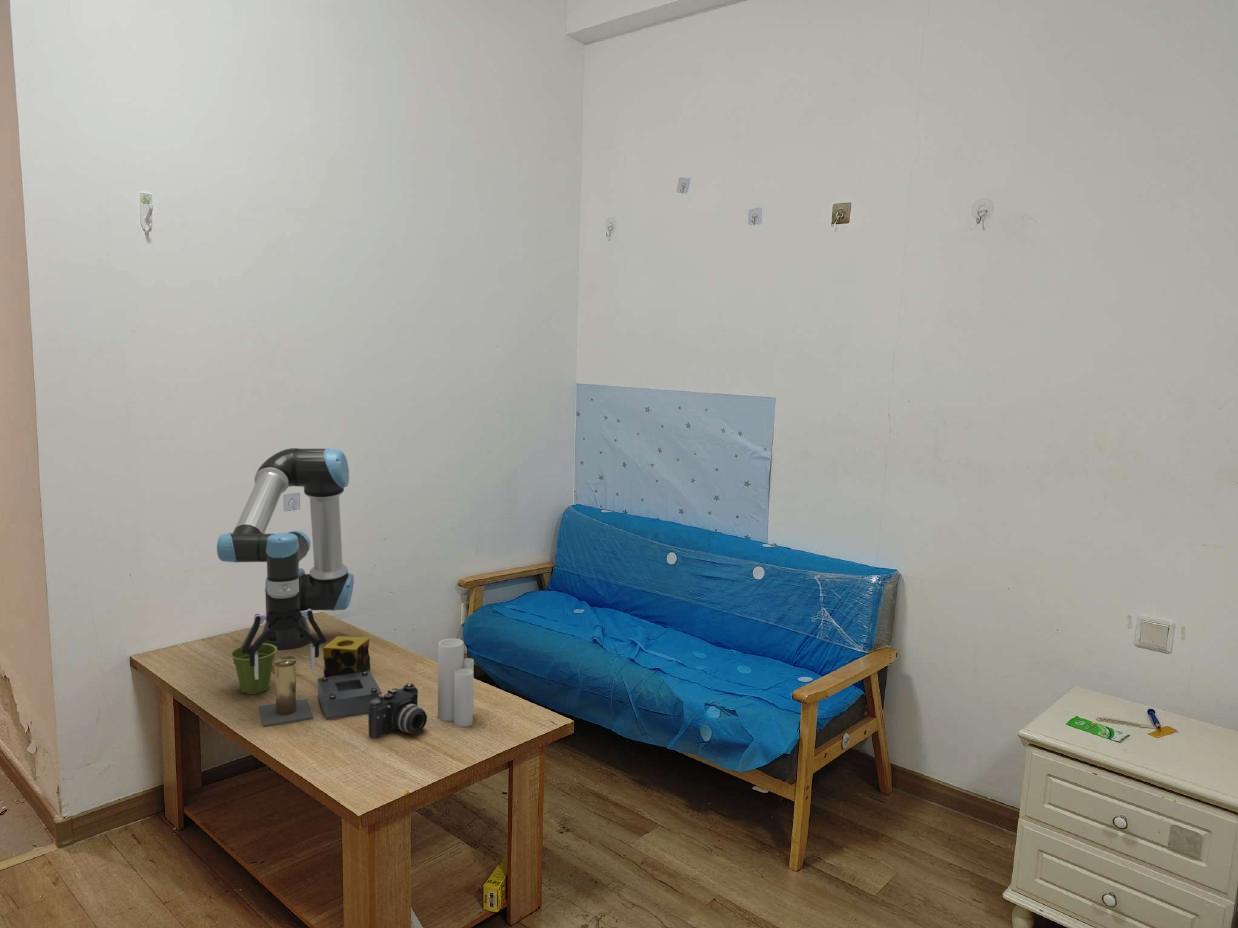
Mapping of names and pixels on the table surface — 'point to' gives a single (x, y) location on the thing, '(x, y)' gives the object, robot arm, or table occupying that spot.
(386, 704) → the camera
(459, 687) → the grey cylinder cluster
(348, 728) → the table surface
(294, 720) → the mat
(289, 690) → the plug
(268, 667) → the plant pot
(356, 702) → the housing
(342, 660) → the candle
